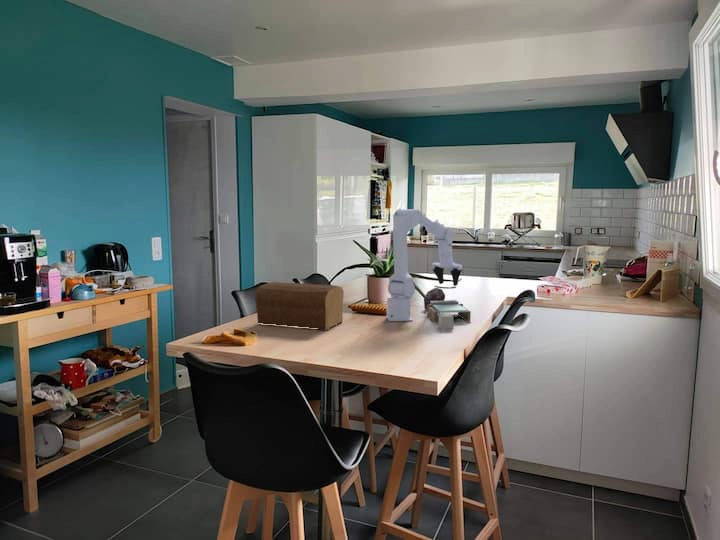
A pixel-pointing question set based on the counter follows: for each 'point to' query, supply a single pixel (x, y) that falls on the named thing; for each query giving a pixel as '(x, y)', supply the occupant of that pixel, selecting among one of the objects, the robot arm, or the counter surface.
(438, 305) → the trapdoor
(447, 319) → the grey block
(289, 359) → the counter surface
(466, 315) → the frame
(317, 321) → the bread
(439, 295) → the rock
